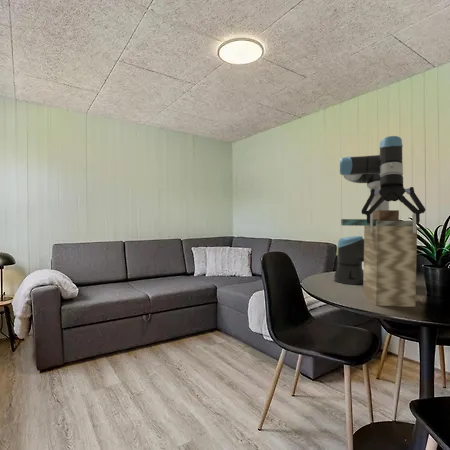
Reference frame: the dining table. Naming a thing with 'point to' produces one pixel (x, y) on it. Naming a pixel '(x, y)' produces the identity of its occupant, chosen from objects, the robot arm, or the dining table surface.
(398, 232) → the wooden board
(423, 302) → the dining table surface
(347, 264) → the robot arm
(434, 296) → the dining table surface
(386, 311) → the dining table surface
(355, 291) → the dining table surface
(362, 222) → the teal and brown block
